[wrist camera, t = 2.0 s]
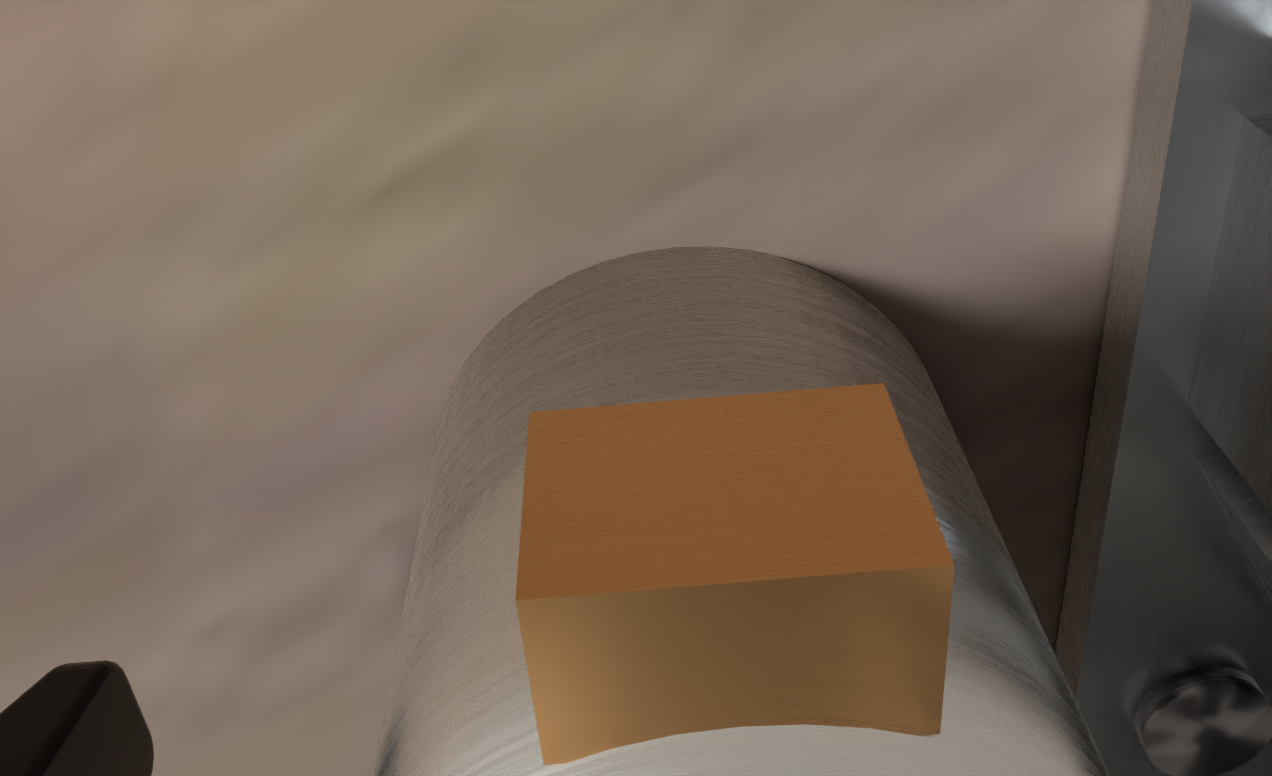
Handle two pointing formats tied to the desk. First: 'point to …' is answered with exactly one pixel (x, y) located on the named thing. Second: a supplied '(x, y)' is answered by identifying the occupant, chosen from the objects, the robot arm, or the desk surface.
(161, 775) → the desk surface
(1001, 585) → the silver metal cylinder
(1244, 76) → the duct flange
